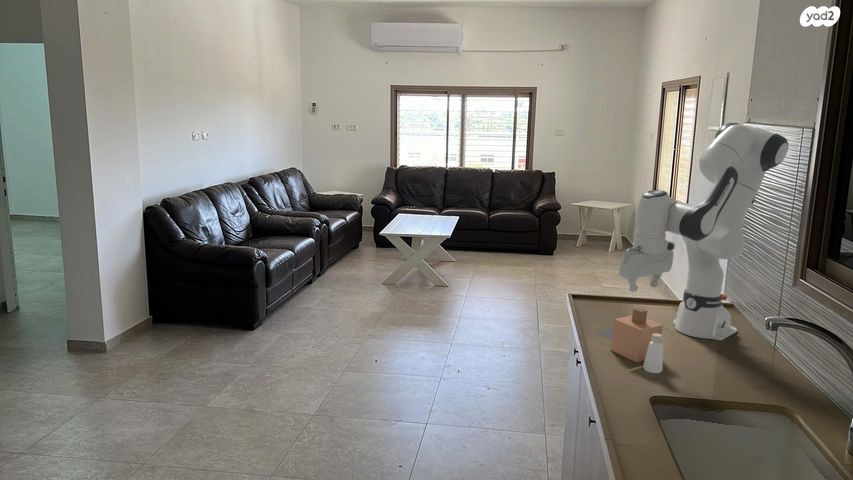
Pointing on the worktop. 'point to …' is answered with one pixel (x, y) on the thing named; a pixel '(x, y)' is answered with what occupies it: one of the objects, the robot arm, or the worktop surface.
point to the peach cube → (634, 335)
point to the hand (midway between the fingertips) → (643, 288)
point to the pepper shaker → (654, 355)
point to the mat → (606, 333)
